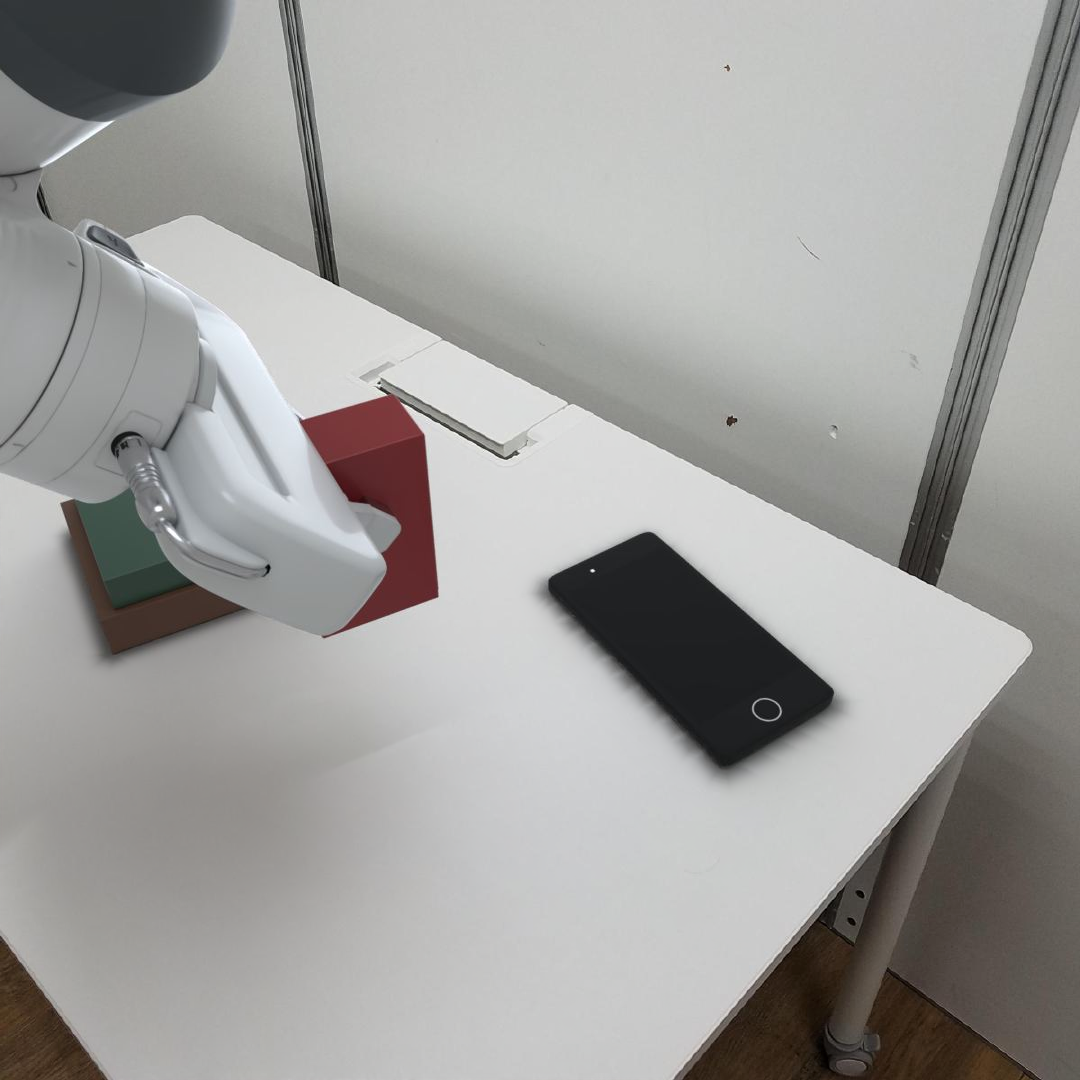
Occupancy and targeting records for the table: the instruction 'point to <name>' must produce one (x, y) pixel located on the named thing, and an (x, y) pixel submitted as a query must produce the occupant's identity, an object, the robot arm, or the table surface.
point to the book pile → (134, 575)
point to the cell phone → (691, 646)
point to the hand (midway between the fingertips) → (367, 500)
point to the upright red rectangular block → (384, 493)
